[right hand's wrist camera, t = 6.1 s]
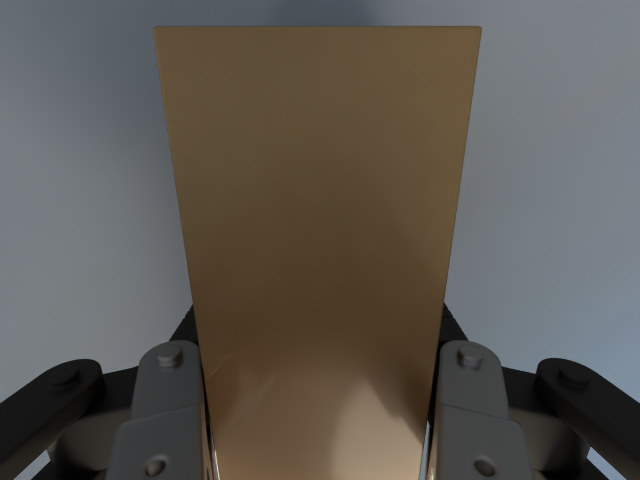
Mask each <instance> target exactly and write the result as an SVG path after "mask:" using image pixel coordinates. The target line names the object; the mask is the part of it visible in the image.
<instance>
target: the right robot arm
mask: <svg viewBox="0 0 640 480" xmlns="http://www.w3.org/2000/svg"><path fill="white" fill-rule="evenodd" d="M428 422H429V425H430V426H429V433H428V445H427V457H426V470H425V480H609V479H608V478H607V477H606V476H605V475H604V474H603V473H602V472H601V471H600V470H599V469H597V468H596V467H595V466H594V465H593V464H592V463H591V462H590V461H589V460H588V459H587V455H588V452H589V449H590V447H592V448H593V449H594V450H595V451H596V452H597V453H599V454H600V455H601V456H602V457H603V458H604V459H605V460H606V461H607V462H608V463H609V464H610V465H612V466H613V467H614V468H615V469H616V470H617V471H618V472H619V473H620V474H621V475H622V476H623V477H625V478H626V479H627V480H640V403H639V402H637V401H636V400H634V399H633V398H631V397H630V396H629V395H627V394H626V393H624V392H623V391H622V390H620V389H619V388H617V387H616V386H615V385H613V384H612V383H610V382H609V381H608V380H606V379H605V378H603V377H602V376H601V375H599V374H598V373H596V372H595V371H593V370H592V369H590V368H588V367H586V366H584V365H582V364H579V363H577V362H574V361H570V360H566V359H561V358H548V359H544V360H542V361H541V362H540V363H539V364H538V367H537V371H536V374H534V373H529V372H524V371H520V370H515V369H510V368H506V367H503V366H501V363H500V360H499V358H498V357H497V356H496V354H495V353H493V352H492V351H491V350H489V349H488V348H486V347H484V346H482V345H480V344H478V343H475V342H471V341H469V340H468V339H467V337H466V336H465V334H464V333H463V331H462V330H461V328H460V326H459V325H458V323H457V322H456V320H455V319H454V318H453V315H452V314H451V312H450V311H449V310H448V308H447V306H446V304H445V303H444V304H443V312H442V319H441V326H440V333H439V340H438V348H437V355H436V362H435V369H434V376H433V383H432V391H431V398H430V405H429V412H428ZM46 449H47V452H48V455H49V457H50V460H51V461H50V462H49V463H48V464H47V465H46V466H45V467H44V468H43V469H41V470H40V471H39V472H38V473H37V474H36V475H35V476H34V477H33V478H32V479H31V480H215V470H214V457H213V445H212V433H211V426H210V417H209V410H208V403H207V396H206V389H205V382H204V376H203V369H202V362H201V355H200V348H199V341H198V334H197V328H196V321H195V314H194V307H193V305H192V306H191V308H190V310H189V311H188V312H187V314H186V315H185V318H184V319H183V320H182V322H181V323H180V325H179V326H178V328H177V329H176V331H175V332H174V334H173V335H172V337H171V339H170V340H169V342H165V343H162V344H160V345H158V346H156V347H154V348H152V349H151V350H149V351H148V352H147V353H145V354H144V356H143V357H142V358H141V360H140V363H139V366H136V367H133V368H129V369H125V370H120V371H116V372H111V373H106V374H103V373H102V369H101V366H100V364H99V363H98V362H96V361H94V360H91V359H78V360H72V361H68V362H65V363H62V364H59V365H57V366H55V367H53V368H51V369H49V370H47V371H45V372H44V373H42V374H41V375H39V376H38V377H37V378H35V379H34V380H32V381H31V382H30V383H28V384H27V385H25V386H24V387H23V388H21V389H20V390H18V391H17V392H16V393H14V394H13V395H11V396H10V397H9V398H7V399H6V400H4V401H3V402H1V403H0V480H13V479H14V478H15V477H17V476H18V475H19V474H20V473H21V472H22V471H23V470H24V469H25V468H26V467H27V466H28V465H30V464H31V463H32V462H33V461H34V460H35V459H36V458H37V457H38V456H39V455H40V454H41V453H43V452H44V451H45V450H46Z"/></svg>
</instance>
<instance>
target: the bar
mask: <svg viewBox="0 0 640 480" xmlns="http://www.w3.org/2000/svg"><path fill="white" fill-rule="evenodd" d="M481 32H482V29H481V27H479V26H156V27H154V28H153V33H154V40H155V47H156V53H157V60H158V67H159V74H160V81H161V88H162V95H163V101H164V108H165V115H166V122H167V129H168V136H169V143H170V149H171V156H172V163H173V170H174V177H175V184H176V190H177V197H178V204H179V211H180V218H181V225H182V232H183V238H184V245H185V252H186V259H187V266H188V273H189V280H190V286H191V293H192V300H193V307H194V314H195V321H196V328H197V334H198V341H199V348H200V355H201V362H202V369H203V376H204V382H205V389H206V396H207V403H208V410H209V417H210V423H211V430H212V437H213V444H214V451H215V458H216V465H217V471H218V478H219V480H419V477H420V470H421V462H422V455H423V448H424V441H425V434H426V426H427V419H428V412H429V405H430V398H431V391H432V383H433V376H434V369H435V362H436V355H437V348H438V340H439V333H440V326H441V319H442V312H443V304H444V297H445V290H446V283H447V276H448V269H449V261H450V254H451V247H452V240H453V233H454V225H455V218H456V211H457V204H458V197H459V190H460V182H461V175H462V168H463V161H464V154H465V146H466V139H467V132H468V125H469V118H470V111H471V103H472V96H473V89H474V82H475V75H476V67H477V60H478V53H479V46H480V39H481Z"/></svg>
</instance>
